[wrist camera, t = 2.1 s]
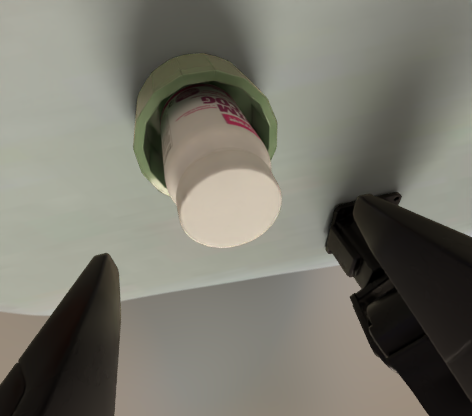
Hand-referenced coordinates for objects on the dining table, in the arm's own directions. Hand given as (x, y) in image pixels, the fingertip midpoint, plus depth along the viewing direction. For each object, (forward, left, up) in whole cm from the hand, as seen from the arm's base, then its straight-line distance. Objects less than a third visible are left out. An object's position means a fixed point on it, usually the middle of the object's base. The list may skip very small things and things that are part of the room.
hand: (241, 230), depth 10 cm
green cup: (0, 0, -10) cm, 10 cm away
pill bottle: (0, 0, -10) cm, 10 cm away
